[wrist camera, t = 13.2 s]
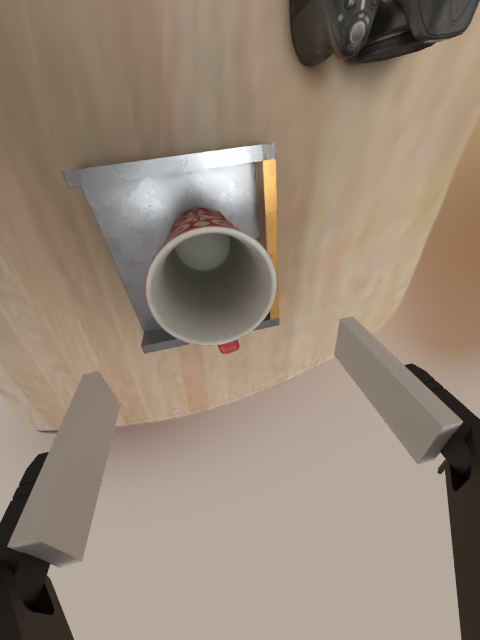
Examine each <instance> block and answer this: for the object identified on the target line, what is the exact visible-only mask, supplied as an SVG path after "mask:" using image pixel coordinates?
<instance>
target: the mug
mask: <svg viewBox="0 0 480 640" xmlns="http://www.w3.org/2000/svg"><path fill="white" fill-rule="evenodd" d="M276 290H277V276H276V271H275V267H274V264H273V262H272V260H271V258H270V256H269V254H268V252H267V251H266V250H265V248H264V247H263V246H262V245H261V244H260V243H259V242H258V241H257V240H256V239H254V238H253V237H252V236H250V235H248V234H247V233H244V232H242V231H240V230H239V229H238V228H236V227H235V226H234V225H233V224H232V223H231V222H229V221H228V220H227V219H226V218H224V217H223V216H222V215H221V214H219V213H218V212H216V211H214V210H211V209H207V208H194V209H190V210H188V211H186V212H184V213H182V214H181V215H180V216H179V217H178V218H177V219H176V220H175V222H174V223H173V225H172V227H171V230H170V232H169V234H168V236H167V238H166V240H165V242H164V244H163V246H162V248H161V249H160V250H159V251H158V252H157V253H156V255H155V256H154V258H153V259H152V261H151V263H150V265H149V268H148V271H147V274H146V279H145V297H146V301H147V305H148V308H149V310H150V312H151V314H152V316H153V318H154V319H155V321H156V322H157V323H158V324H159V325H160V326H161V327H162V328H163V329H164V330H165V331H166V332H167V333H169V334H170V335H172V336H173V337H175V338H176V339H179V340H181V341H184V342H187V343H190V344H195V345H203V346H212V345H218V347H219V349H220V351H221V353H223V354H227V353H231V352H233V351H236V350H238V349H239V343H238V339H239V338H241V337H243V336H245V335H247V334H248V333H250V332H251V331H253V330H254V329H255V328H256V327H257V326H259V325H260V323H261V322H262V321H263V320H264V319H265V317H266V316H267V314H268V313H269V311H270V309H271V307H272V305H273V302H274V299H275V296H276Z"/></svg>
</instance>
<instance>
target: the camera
mask: <svg viewBox="0 0 480 640" xmlns="http://www.w3.org/2000/svg"><path fill="white" fill-rule="evenodd" d="M479 1H480V0H290V4H291V27H292V35H293V40H294V44H295V47H296V51H297V54H298V56H299V58H300V60H301V62H302V63H303V64H305V65H308V66H313V65H316V64H318V63H320V62H322V61H324V60H326V59H327V58H328V57H329V56H331V55H332V54H333V53H335V54H336V56H337V57H338V58H341V59H343V60H346V59H348V58H351V57H353V56H355V55H356V54H357V53H358V62H360V63H367V62H373V61H381V60H386V59H390V58H394V57H399V56H403V55H406V54H410V53H413V52H417V51H420V50H423V49H425V48H427V47H430V46H432V45H433V44H435V43H436V42H440V41H444V40H447V39H450V38H453V37H456V36H458V35H461V34H462V33H463V32H464V31H465V30H466V29H467V28H468V26H469V24H470V23H471V20H472V18H473V15H474V13H475V11H476V8H477V6H478V3H479Z"/></svg>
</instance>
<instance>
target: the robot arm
mask: <svg viewBox="0 0 480 640" xmlns="http://www.w3.org/2000/svg"><path fill="white" fill-rule="evenodd" d="M334 355H335V356H336V358H337V359H338V360H339V361H340V363H341V364H342V366H343V367H344V368H345V369H346V371H347V372H348V374H349V375H350V376H351V377H352V379H353V380H354V381H355V383H356V384H357V385H358V387H359V388H360V389H361V391H362V392H363V393H364V394H365V396H366V397H367V398H368V400H369V401H370V402H371V404H372V405H373V406H374V408H375V409H376V410H377V412H378V413H379V414H380V416H381V417H382V418H383V419H384V421H385V422H386V423H387V425H388V426H389V427H390V429H391V430H392V431H393V433H394V434H395V435H396V436H397V438H398V439H399V440H400V442H401V443H402V444H403V446H404V447H405V448H406V450H407V451H408V452H409V454H410V455H411V456H412V458H413V459H414V460H415V461H416V463H417V464H421V463H424V462H428V461H431V460H434V459H435V458H436V457H437V456H438V454H439V453H440V452H441V454H442V455H443V456H444V457H445V458H446V460H445V461H444V462H443V463H442V464H441V466H440V467H439V468H438V473H439V474H441V473H442V472H443V471H444V470H445V475H446V485H447V495H448V504H449V505H448V506H449V516H450V526H451V536H452V546H453V556H454V567H455V577H456V587H457V597H458V607H459V618H460V628H461V638H462V640H480V419H479V418H478V417H476V416H475V415H474V414H473V413H472V412H471V411H470V410H469V409H467V408H466V407H465V406H464V405H463V404H462V403H461V402H460V401H458V400H457V399H456V398H455V397H454V396H453V395H452V394H451V393H449V392H448V391H447V390H446V389H444V388H443V386H441V385H440V384H439V383H438V382H437V381H435V380H434V378H433V377H431V376H430V375H429V374H428V373H427V372H426V371H425V370H423V369H421V368H419V367H417V366H416V365H414V364H407V365H403V364H402V363H401V362H400V361H399V360H398V359H397V358H396V357H395V356H394V355H393V354H391V352H389V351H388V350H387V349H386V348H385V347H384V346H383V345H382V344H381V343H380V342H379V341H378V340H377V339H376V338H375V337H374V336H373V335H372V334H371V333H369V332H368V331H367V330H366V329H365V328H364V327H363V326H362V325H361V324H360V323H359V322H358V321H357V320H356V319H355V318H354V317H348V318H344V319H340V322H339V329H338V335H337V341H336V347H335V353H334ZM119 408H120V403H119V401H118V400H117V398H116V397H115V395H114V393H113V392H112V390H111V389H110V387H109V386H108V384H107V383H106V381H105V380H104V378H103V377H102V375H101V373H100V372H99V371H97V372H93V373H88V374H83V376H82V379H81V381H80V383H79V385H78V388H77V390H76V392H75V394H74V397H73V399H72V401H71V403H70V406H69V408H68V410H67V413H66V415H65V417H64V419H63V422H62V424H61V426H60V428H59V431H58V433H57V435H56V438H55V440H54V442H53V444H52V446H51V449H50V451H49V452H46V453H42V454H39V455H38V456H37V457H36V458H35V459H34V461H33V462H32V463H31V464H30V465H29V467H28V468H27V469H26V471H25V473H24V475H23V477H22V479H21V481H20V484H19V487H18V488H17V490H16V492H15V494H14V496H13V500H12V501H11V502H10V504H9V506H8V508H7V510H6V512H5V514H4V516H3V518H2V520H1V522H0V640H74V639H73V636H72V633H71V631H70V628H69V626H68V623H67V620H66V618H65V616H64V613H63V610H62V608H61V605H60V603H59V600H58V597H57V595H56V592H55V590H54V587H53V585H52V582H51V580H50V578H49V577H48V576H47V572H48V569H49V566H50V564H52V565H55V566H57V567H63V566H66V565H70V564H73V563H76V562H80V561H82V559H83V555H84V552H85V547H86V543H87V539H88V535H89V531H90V527H91V523H92V519H93V515H94V510H95V506H96V502H97V498H98V494H99V489H100V486H101V481H102V477H103V473H104V469H105V465H106V461H107V457H108V453H109V449H110V445H111V440H112V436H113V432H114V428H115V424H116V420H117V416H118V412H119Z"/></svg>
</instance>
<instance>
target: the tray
mask: <svg viewBox="0 0 480 640" xmlns="http://www.w3.org/2000/svg"><path fill="white" fill-rule="evenodd" d="M61 172H62V174H63V177H64V179H65V181H66V183H67V185H68V187H69V188H73V187H80V186H82V188H83V191H84V193H85V195H86V198H87V200H88V202H89V205H90V207H91V209H92V212H93V214H94V216H95V219H96V221H97V223H98V226H99V228H100V230H101V233H102V235H103V237H104V240H105V242H106V244H107V247H108V249H109V251H110V254H111V256H112V258H113V261H114V263H115V265H116V268H117V270H118V273H119V275H120V277H121V280H122V282H123V284H124V287H125V289H126V291H127V294H128V296H129V298H130V301H131V303H132V305H133V308H134V310H135V312H136V315H137V317H138V319H139V322H140V324H141V326H142V329H143V331H144V335H143V340H142V344H141V347H142V350H143V352H144V354H145V353H149V352H154V351H159V350H164V349H168V348H173V347H178V346H182V345H187V344H190V343H187V342H184V341H181V340H179V339H176V338H175V337H173V336H172V335H170V334H169V333H167V332H166V331H165V330H164V329H163V328H162V327H161V326H160V325H159V324H158V323H157V322H156V321H155V319H154V318H153V316H152V314H151V312H150V310H149V308H148V305H147V301H146V297H145V279H146V274H147V271H148V268H149V265H150V263H151V261H152V259H153V258H154V256H155V255H156V253H157V252H158V251H159V250H160V249H161V248H162V246H163V244H164V242H165V240H166V238H167V236H168V234H169V232H170V230H171V227H172V225H173V223H174V222H175V220H176V219H177V218H178V217H179V216H180V215H181V214H182V213H184V212H186V211H188V210H190V209H194V208H207V209H211V210H214V211H216V212H218V213H219V214H221V215H222V216H223V217H224V218H226V219H227V220H228V221H229V222H231V223H232V224H233V225H234V226H235V227H236V228H238V229H239V230H240V231H242V232H244V233H247V234H248V235H250V236H252V237H253V238H254V239H256V240H257V241H258V242H259V243H260V244H261V245H262V246H263V247H264V248H265V250H266V251H267V252H268V254H269V256H270V258H271V260H272V262H273V264H274V267H275V271H276V276H277V290H276V296H275V299H274V302H273V305H272V307H271V309H270V311H269V313H268V314H267V316H266V317H265V319H264V320H263V321H262V322H261V323H260V325H259V326H257V327H256V328H255V329H254V330H258V329H263V328H267V327H272V326H277V325H279V286H278V241H277V196H276V151H275V143H268V144H261V145H254V146H246V147H239V148H231V149H224V150H216V151H209V152H202V153H194V154H187V155H179V156H172V157H164V158H157V159H149V160H142V161H135V162H127V163H120V164H112V165H105V166H97V167H90V168H82V169H75V170H68V171H61Z"/></svg>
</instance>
